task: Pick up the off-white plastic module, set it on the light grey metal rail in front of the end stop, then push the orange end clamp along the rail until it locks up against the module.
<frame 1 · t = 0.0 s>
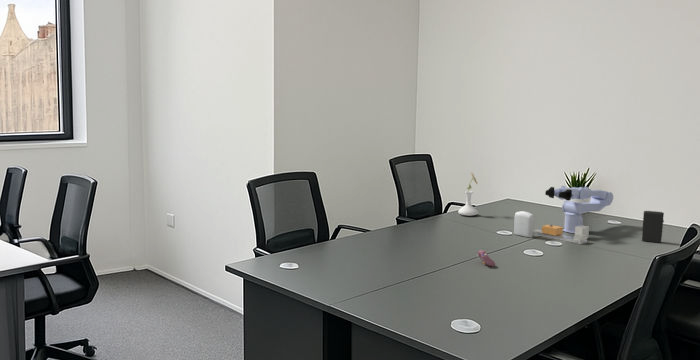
hand: (552, 193, 344), 22 cm above the table, tool horizontal, fingers open, 7 cm apart
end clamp: (552, 229, 346), point 4 cm above the table, slide at 0.0 cm
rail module: (581, 238, 344), on the table
card reader: (651, 241, 339), on the table
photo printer: (523, 236, 348), on the table
flower in vase: (468, 215, 400), on the table
mounting rail: (558, 237, 344), on the table
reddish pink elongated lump: (485, 264, 294), on the table
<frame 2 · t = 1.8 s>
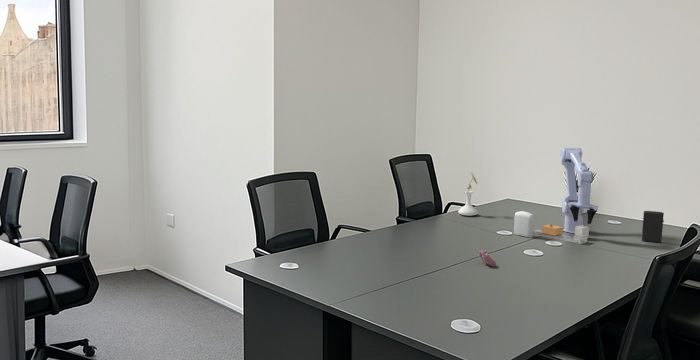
hand: (582, 222, 343), 8 cm above the table, tool pointing down, fingers open, 7 cm apart
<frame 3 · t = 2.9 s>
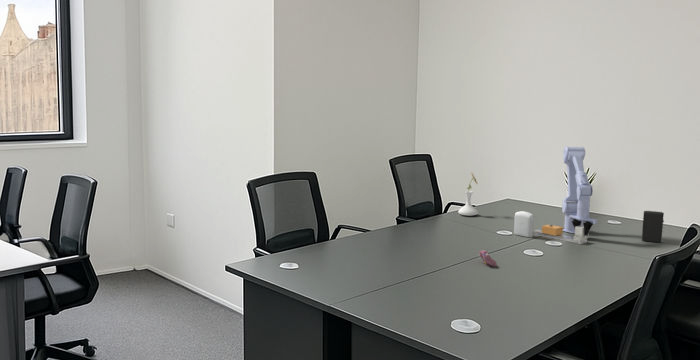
hand: (581, 235, 344), 1 cm above the table, tool pointing down, fingers closed on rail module, 4 cm apart
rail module: (581, 238, 344), on the table, touching gripper
everything else where it was.
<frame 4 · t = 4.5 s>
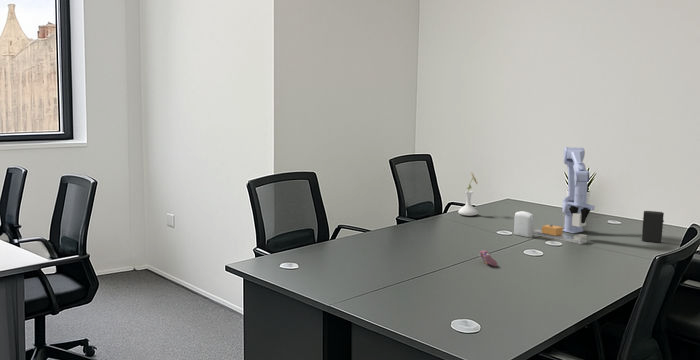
hand: (578, 222, 341), 8 cm above the table, tool pointing down, fingers closed on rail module, 4 cm apart
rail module: (578, 225, 341), point 7 cm above the table, touching gripper
when the fingers open (4 cm above the table, at t = 6.0 s): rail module drops 1 cm, resting on mounting rail.
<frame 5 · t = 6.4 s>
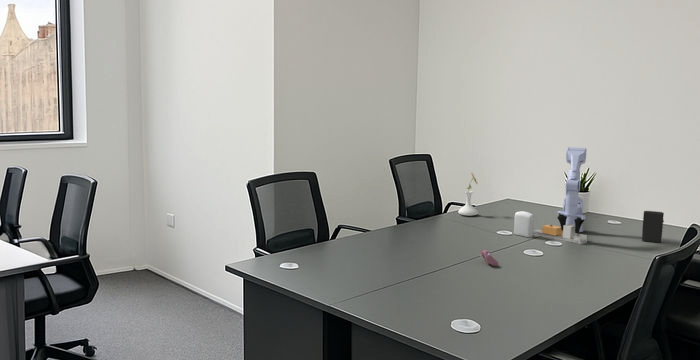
hand: (570, 231, 338), 4 cm above the table, tool pointing down, fingers open, 7 cm apart
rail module: (569, 237, 339), point 1 cm above the table, touching mounting rail
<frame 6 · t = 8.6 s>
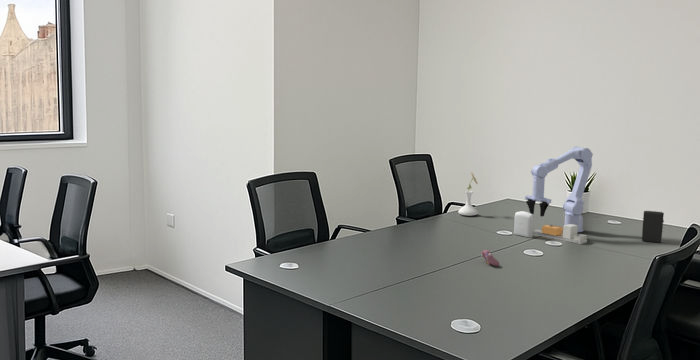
hand: (536, 215, 352), 9 cm above the table, tool pointing down, fingers open, 6 cm apart
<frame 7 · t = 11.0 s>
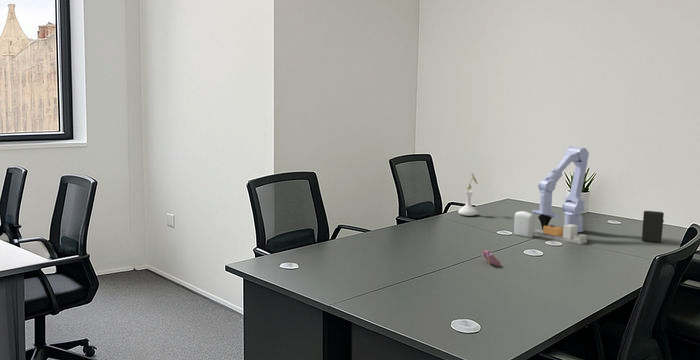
hand: (544, 229, 350), 3 cm above the table, tool pointing down, fingers closed
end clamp: (553, 229, 346), point 4 cm above the table, slide at 0.7 cm, touching gripper
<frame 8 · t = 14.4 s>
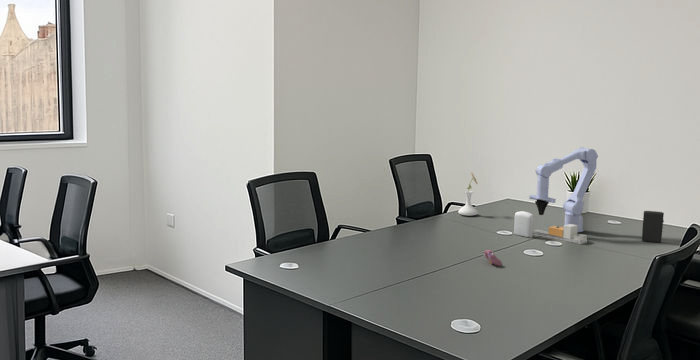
hand: (541, 214, 354), 9 cm above the table, tool pointing down, fingers closed
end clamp: (559, 230, 343), point 4 cm above the table, slide at 3.9 cm
at the end: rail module 0.2 cm from the target spot, point 1.5 cm above the table; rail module tilted 0°; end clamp slide at 3.9 cm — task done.
